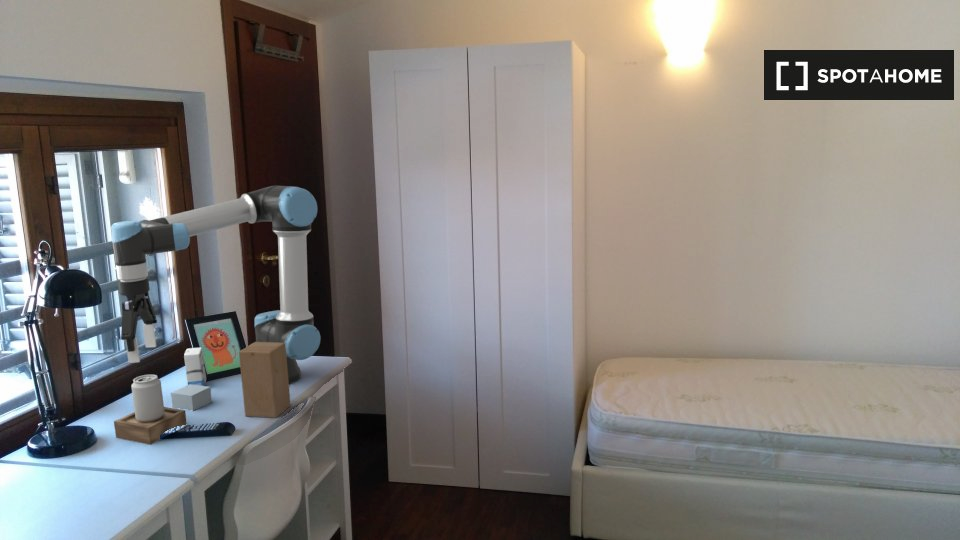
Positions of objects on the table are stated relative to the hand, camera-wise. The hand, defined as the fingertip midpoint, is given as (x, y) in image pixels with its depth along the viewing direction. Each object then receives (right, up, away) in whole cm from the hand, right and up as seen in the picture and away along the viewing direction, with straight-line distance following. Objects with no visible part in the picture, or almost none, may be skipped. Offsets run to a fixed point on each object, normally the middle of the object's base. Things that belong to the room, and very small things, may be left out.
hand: (143, 354), depth 206 cm
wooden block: (+30, -19, +17) cm, 39 cm away
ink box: (-1, -15, +42) cm, 44 cm away
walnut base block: (+1, -22, +4) cm, 23 cm away
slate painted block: (+4, -18, +24) cm, 31 cm away
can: (0, -18, +4) cm, 19 cm away
